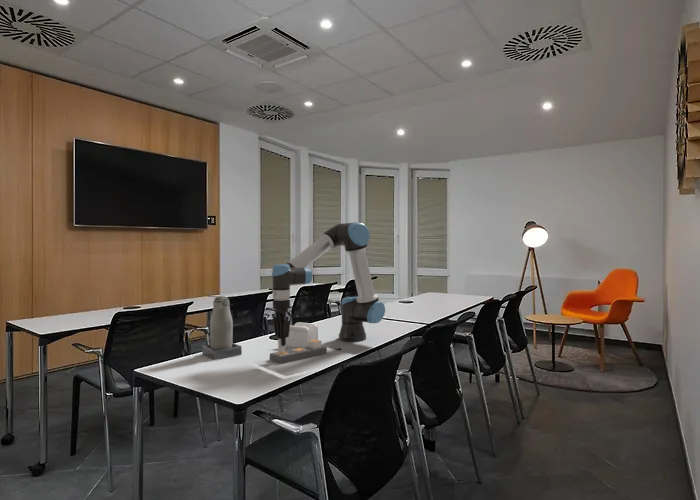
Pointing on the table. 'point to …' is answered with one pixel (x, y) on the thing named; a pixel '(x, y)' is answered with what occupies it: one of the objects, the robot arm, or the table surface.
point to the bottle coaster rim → (221, 352)
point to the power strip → (298, 354)
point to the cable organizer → (301, 334)
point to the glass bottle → (221, 324)
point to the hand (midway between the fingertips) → (281, 352)
